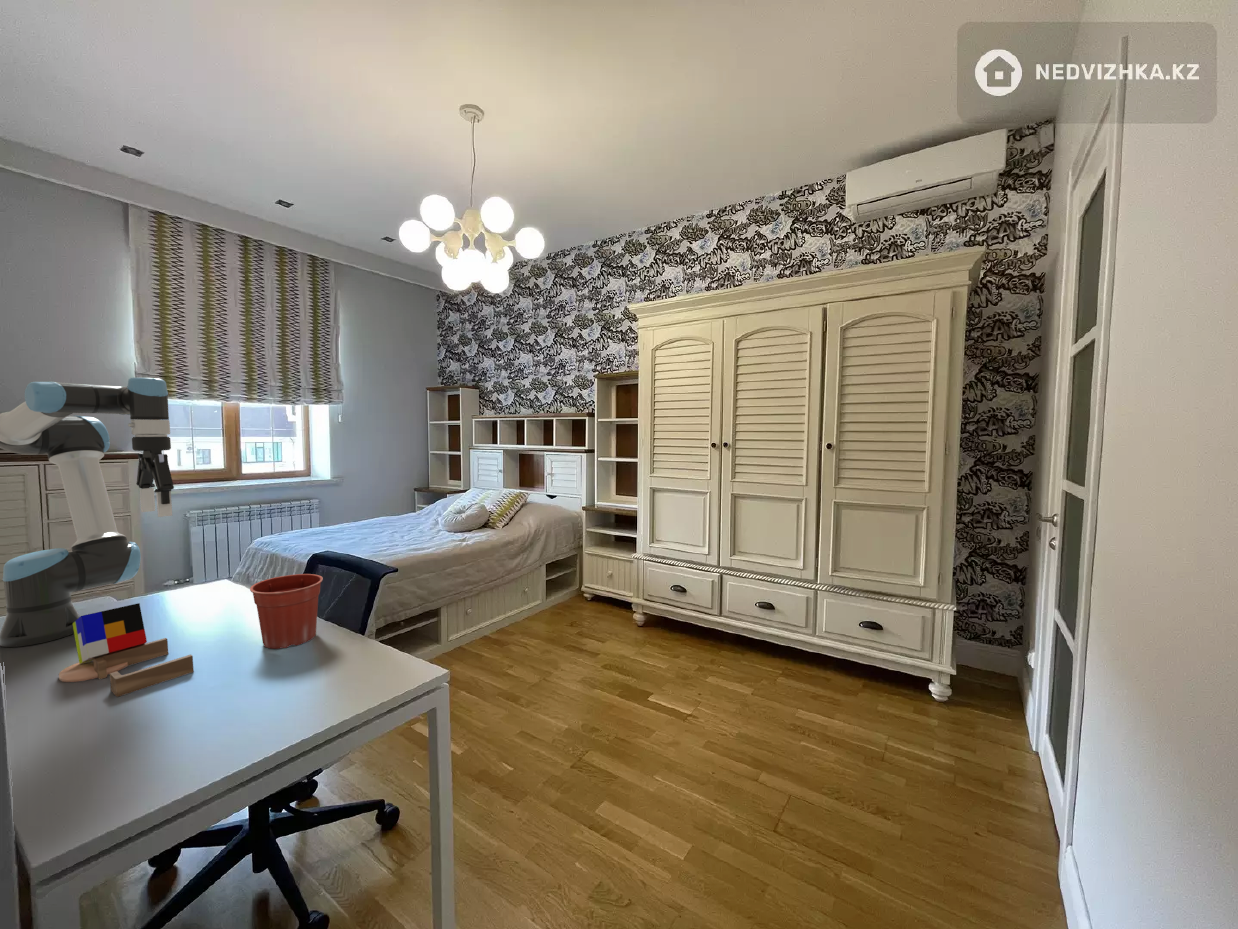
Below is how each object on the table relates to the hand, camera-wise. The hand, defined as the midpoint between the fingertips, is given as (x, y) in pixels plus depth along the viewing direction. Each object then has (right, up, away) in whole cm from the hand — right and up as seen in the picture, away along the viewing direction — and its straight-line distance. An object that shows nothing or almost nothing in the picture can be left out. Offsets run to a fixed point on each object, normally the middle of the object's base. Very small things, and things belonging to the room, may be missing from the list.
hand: (156, 513), depth 133 cm
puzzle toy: (+2, -33, -13) cm, 36 cm away
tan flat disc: (0, -36, -15) cm, 39 cm away
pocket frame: (+13, -36, -17) cm, 42 cm away
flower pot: (+36, -35, +1) cm, 50 cm away
